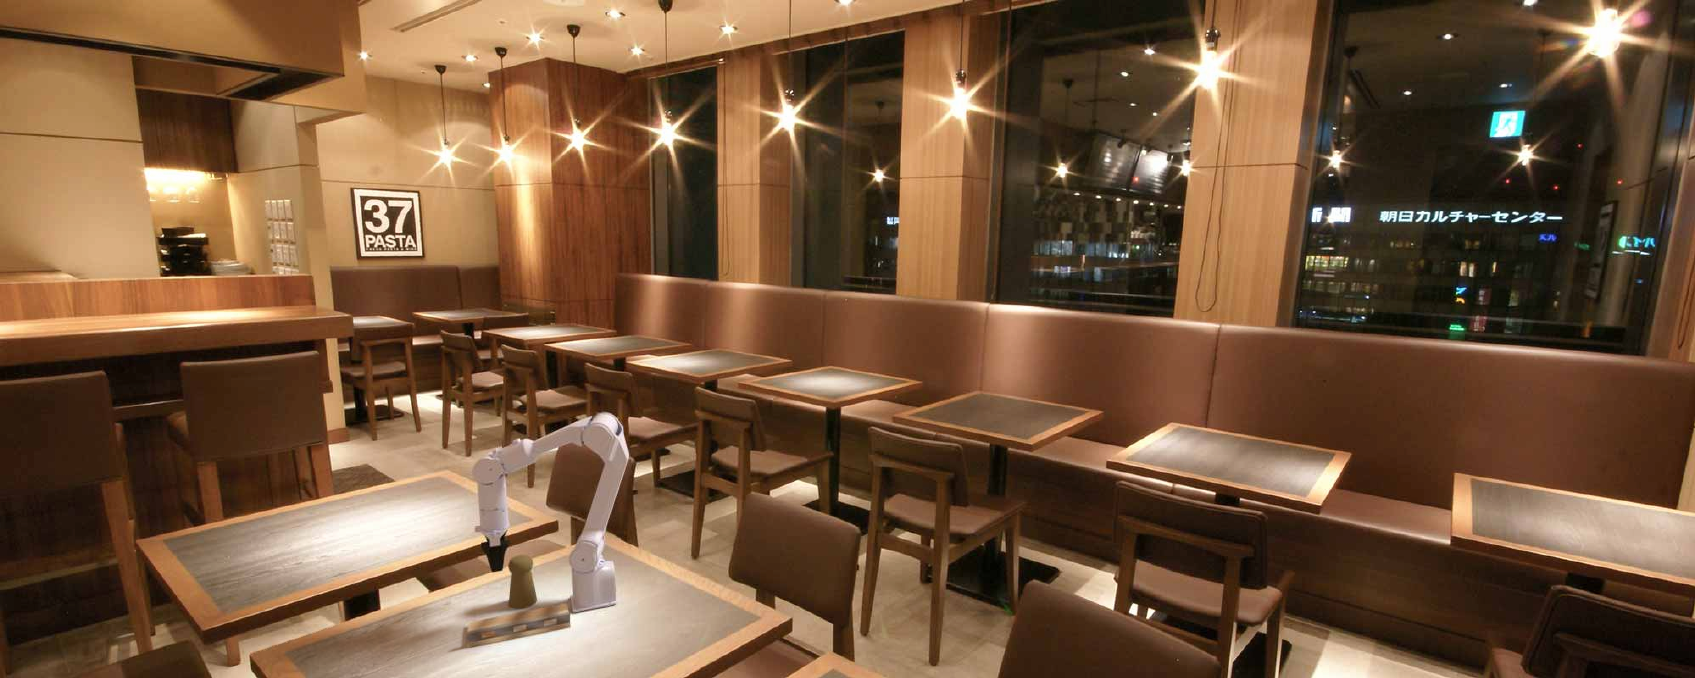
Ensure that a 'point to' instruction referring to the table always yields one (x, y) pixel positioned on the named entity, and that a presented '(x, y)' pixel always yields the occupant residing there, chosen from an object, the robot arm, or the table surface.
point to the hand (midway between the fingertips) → (497, 563)
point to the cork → (521, 582)
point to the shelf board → (517, 625)
